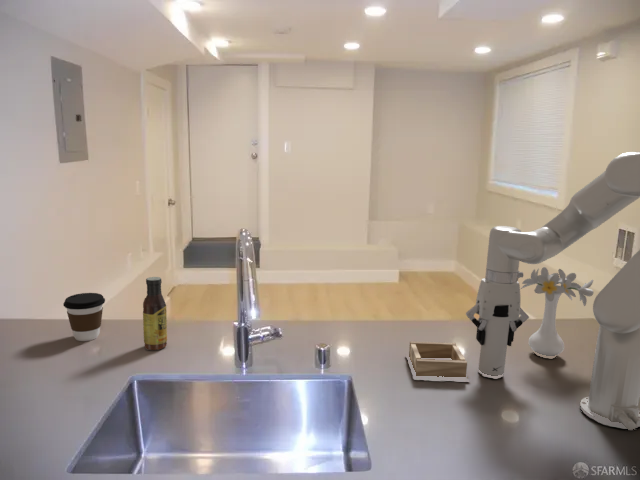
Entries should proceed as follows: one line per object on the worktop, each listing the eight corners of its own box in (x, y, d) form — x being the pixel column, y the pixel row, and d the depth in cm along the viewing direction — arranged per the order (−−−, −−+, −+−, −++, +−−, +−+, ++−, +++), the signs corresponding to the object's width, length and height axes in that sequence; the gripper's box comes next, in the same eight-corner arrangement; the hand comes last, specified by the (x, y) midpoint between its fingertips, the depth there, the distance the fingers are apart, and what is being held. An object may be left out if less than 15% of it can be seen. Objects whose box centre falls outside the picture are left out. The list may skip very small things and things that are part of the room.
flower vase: (590, 365, 138) (603, 277, 133) (523, 363, 138) (534, 275, 133) (567, 346, 151) (578, 264, 146) (506, 344, 151) (514, 263, 146)
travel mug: (500, 382, 127) (508, 306, 123) (474, 374, 130) (482, 300, 127) (508, 374, 131) (516, 300, 128) (483, 366, 135) (490, 295, 131)
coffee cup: (57, 341, 144) (54, 301, 142) (85, 328, 154) (82, 290, 152) (89, 347, 141) (86, 306, 138) (115, 333, 151) (113, 294, 149)
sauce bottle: (163, 351, 139) (160, 282, 135) (140, 351, 139) (137, 281, 135) (170, 342, 145) (168, 275, 141) (149, 341, 146) (146, 275, 142)
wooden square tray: (469, 382, 126) (471, 364, 125) (413, 380, 126) (414, 362, 125) (456, 358, 140) (457, 341, 139) (405, 356, 140) (406, 340, 139)
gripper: (530, 273, 129) (522, 339, 133) (462, 270, 129) (456, 336, 133) (542, 281, 122) (533, 351, 126) (470, 279, 122) (464, 348, 126)
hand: (494, 343), depth 129 cm, fingers closed on travel mug, 6 cm apart
